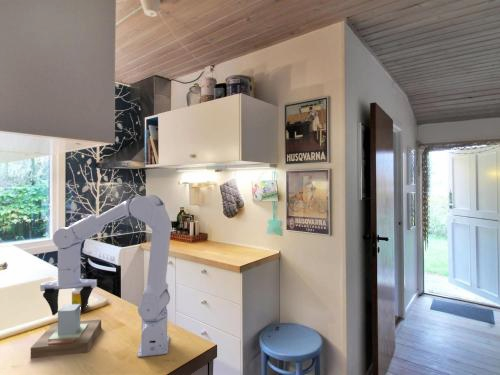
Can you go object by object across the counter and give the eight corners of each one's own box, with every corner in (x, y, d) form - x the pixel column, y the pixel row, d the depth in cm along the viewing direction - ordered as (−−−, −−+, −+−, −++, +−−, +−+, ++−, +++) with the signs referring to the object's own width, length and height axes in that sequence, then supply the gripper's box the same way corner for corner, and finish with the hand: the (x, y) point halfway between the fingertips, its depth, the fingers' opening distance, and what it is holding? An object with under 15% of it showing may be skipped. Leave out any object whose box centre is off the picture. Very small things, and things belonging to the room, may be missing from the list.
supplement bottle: (68, 308, 110) (68, 283, 110) (82, 303, 115) (82, 279, 115) (77, 312, 107) (77, 285, 107) (91, 306, 112) (91, 281, 112)
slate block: (75, 333, 86) (75, 310, 86) (57, 335, 85) (57, 311, 85) (80, 326, 90) (80, 303, 90) (64, 327, 89) (64, 305, 89)
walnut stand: (87, 352, 82) (87, 340, 82) (30, 358, 79) (30, 346, 79) (101, 327, 96) (101, 318, 96) (53, 332, 93) (53, 322, 93)
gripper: (99, 262, 93) (99, 305, 93) (48, 264, 90) (48, 308, 90) (92, 268, 86) (92, 314, 86) (36, 271, 83) (36, 319, 83)
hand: (69, 312), depth 88 cm, fingers open, 7 cm apart
